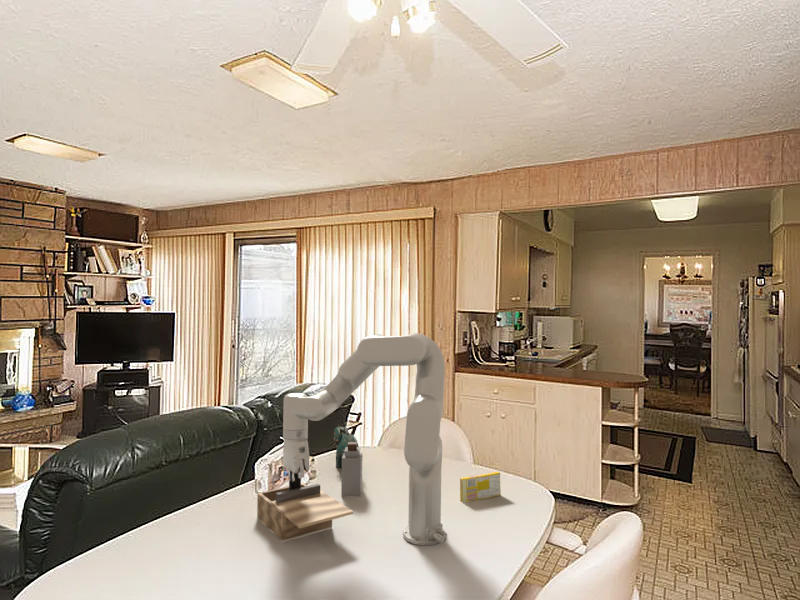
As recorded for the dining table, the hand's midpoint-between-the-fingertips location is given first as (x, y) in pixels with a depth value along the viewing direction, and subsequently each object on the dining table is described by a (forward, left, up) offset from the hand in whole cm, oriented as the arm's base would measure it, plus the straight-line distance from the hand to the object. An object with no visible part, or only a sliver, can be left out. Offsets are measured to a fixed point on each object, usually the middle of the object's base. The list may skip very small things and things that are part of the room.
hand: (294, 492), depth 161 cm
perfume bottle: (+12, -28, -10) cm, 32 cm away
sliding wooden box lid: (-11, 0, -1) cm, 11 cm away
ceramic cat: (+32, -38, -10) cm, 51 cm away
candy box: (-18, -63, -10) cm, 66 cm away
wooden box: (0, 0, -10) cm, 10 cm away
